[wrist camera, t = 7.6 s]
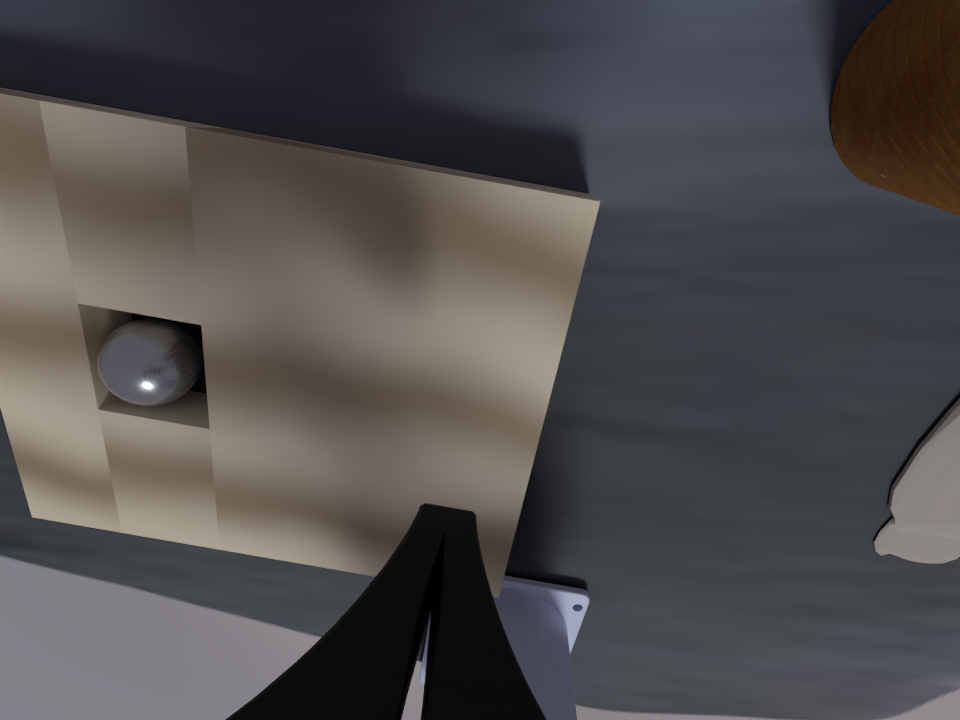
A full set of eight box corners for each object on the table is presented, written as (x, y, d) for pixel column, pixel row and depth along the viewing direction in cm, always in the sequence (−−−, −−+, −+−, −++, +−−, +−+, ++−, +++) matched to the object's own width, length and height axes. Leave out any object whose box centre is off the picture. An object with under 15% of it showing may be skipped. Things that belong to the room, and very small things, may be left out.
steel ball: (168, 384, 22) (229, 388, 21) (90, 417, 19) (157, 424, 18) (146, 309, 21) (210, 310, 20) (60, 331, 18) (130, 333, 17)
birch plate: (500, 556, 25) (498, 597, 23) (76, 482, 25) (32, 517, 23) (589, 193, 18) (600, 201, 15) (-16, 84, 17) (-96, 76, 15)
